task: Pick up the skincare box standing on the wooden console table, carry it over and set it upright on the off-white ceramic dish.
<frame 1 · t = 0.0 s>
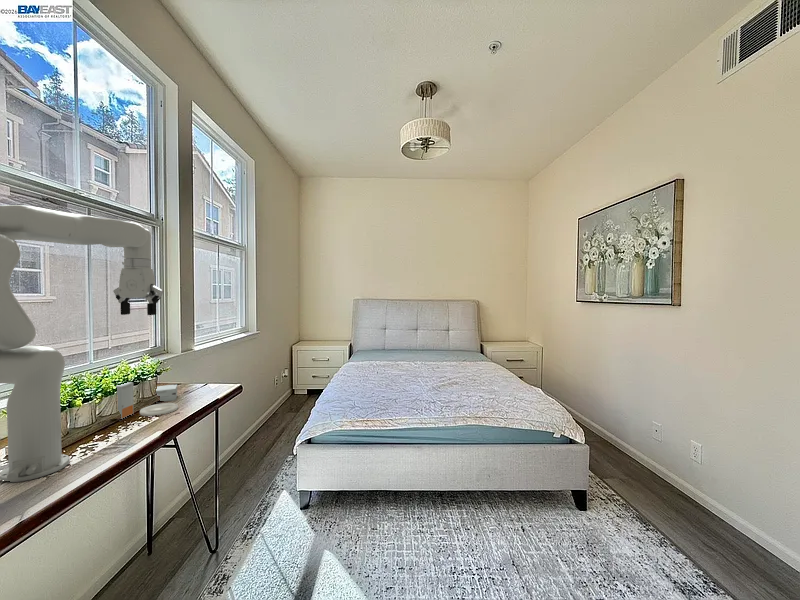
hand: (138, 314, 123), 37 cm above the table, tool pointing down, fingers open, 9 cm apart
skincare box: (122, 417, 129), on the table
ceramic dish: (159, 410, 136), on the table
small box: (166, 399, 150), on the table
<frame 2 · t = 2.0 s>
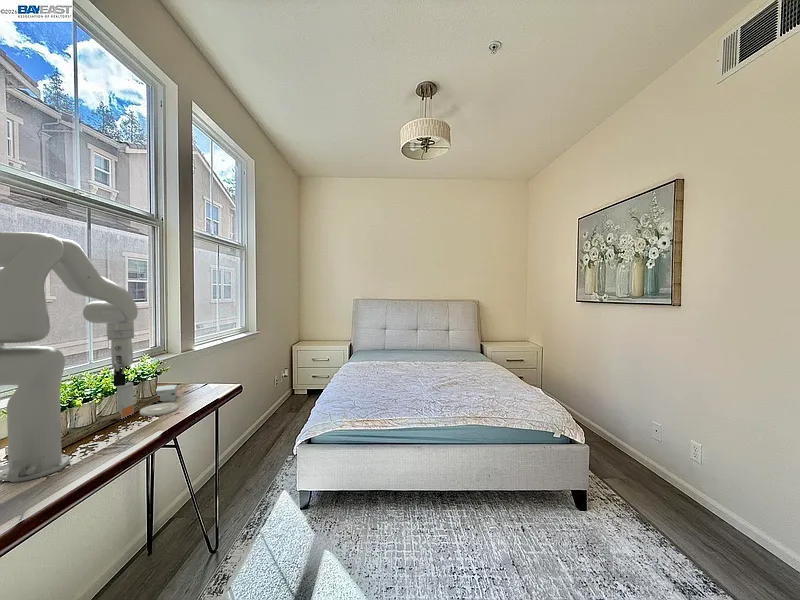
hand: (122, 382, 129), 13 cm above the table, tool pointing down, fingers open, 9 cm apart
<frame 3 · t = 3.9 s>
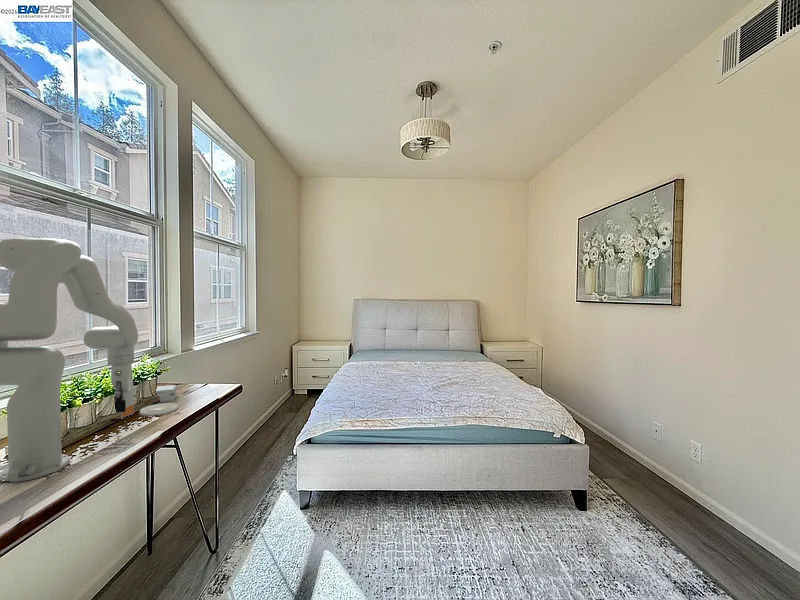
hand: (121, 408, 129), 3 cm above the table, tool pointing down, fingers closed on skincare box, 7 cm apart
skincare box: (122, 417, 129), on the table, touching gripper
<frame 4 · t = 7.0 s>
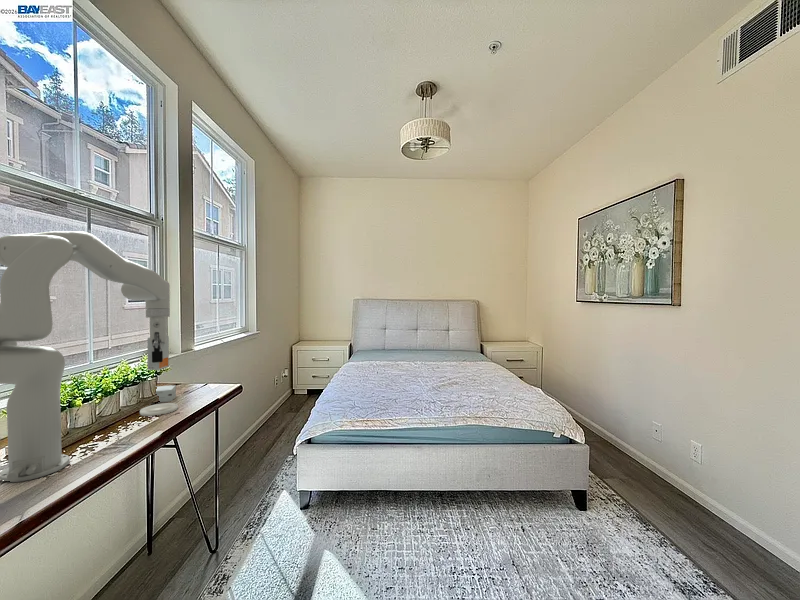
hand: (158, 359, 135), 19 cm above the table, tool pointing down, fingers closed on skincare box, 7 cm apart
skincare box: (158, 368, 135), point 16 cm above the table, touching gripper
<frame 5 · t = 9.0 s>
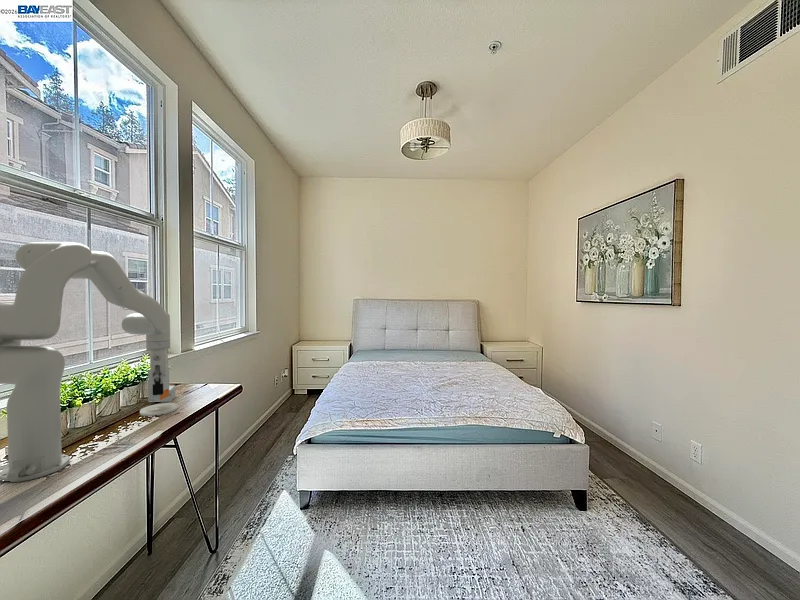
hand: (159, 391, 136), 7 cm above the table, tool pointing down, fingers closed on skincare box, 7 cm apart
skincare box: (159, 400, 136), point 4 cm above the table, touching gripper
when the fingers open (5 cm above the table, at t = 10.4 s): skincare box drops 1 cm, resting on ceramic dish.
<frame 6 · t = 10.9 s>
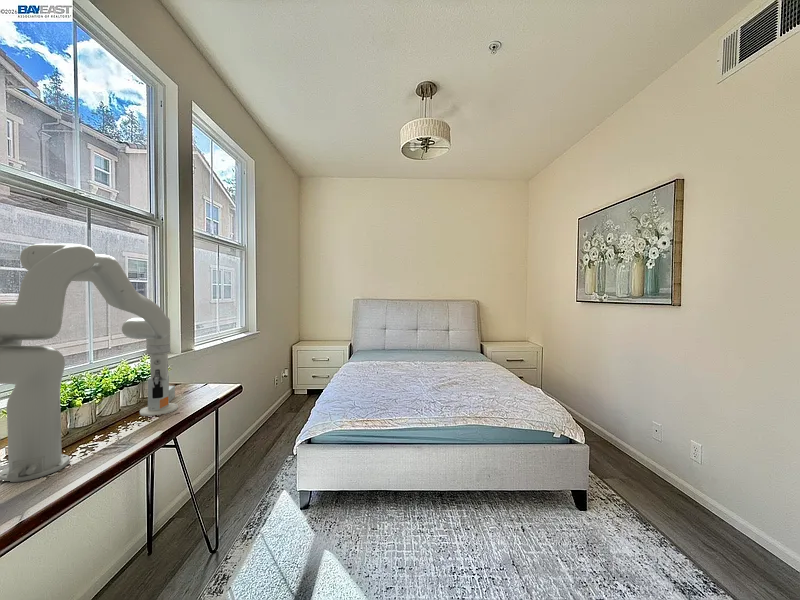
hand: (159, 394, 136), 6 cm above the table, tool pointing down, fingers open, 9 cm apart
skincare box: (158, 408, 136), point 1 cm above the table, touching ceramic dish
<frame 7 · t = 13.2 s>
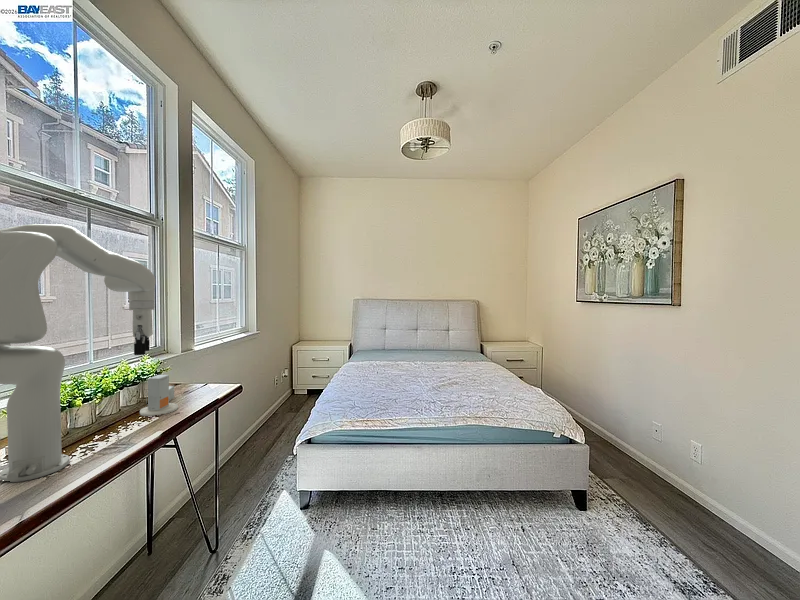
hand: (142, 352, 131), 23 cm above the table, tool pointing down, fingers open, 9 cm apart
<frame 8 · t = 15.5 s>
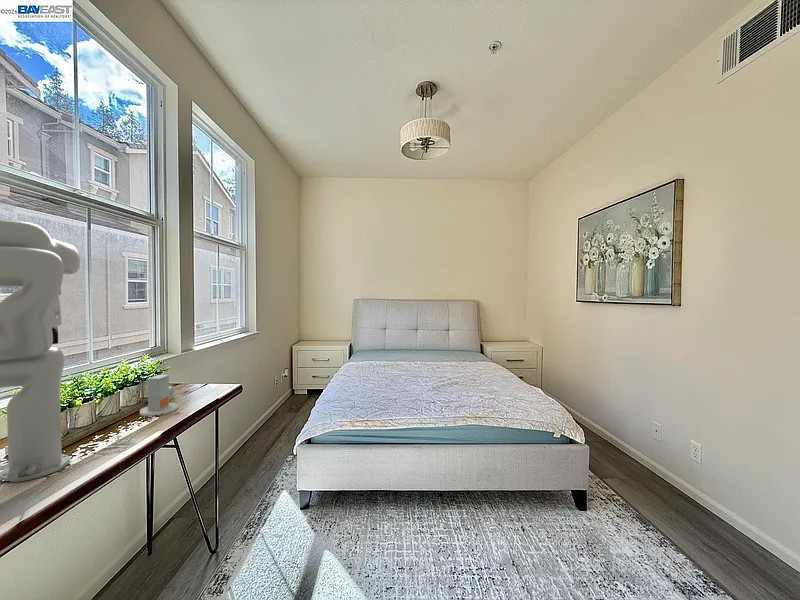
hand: (45, 346, 111), 28 cm above the table, tool pointing down, fingers open, 9 cm apart
at the end: skincare box 0.3 cm off-centre on the ceramic dish, point 0.9 cm above the ceramic dish's base; skincare box tilted 0°; the gripper is holding nothing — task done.
